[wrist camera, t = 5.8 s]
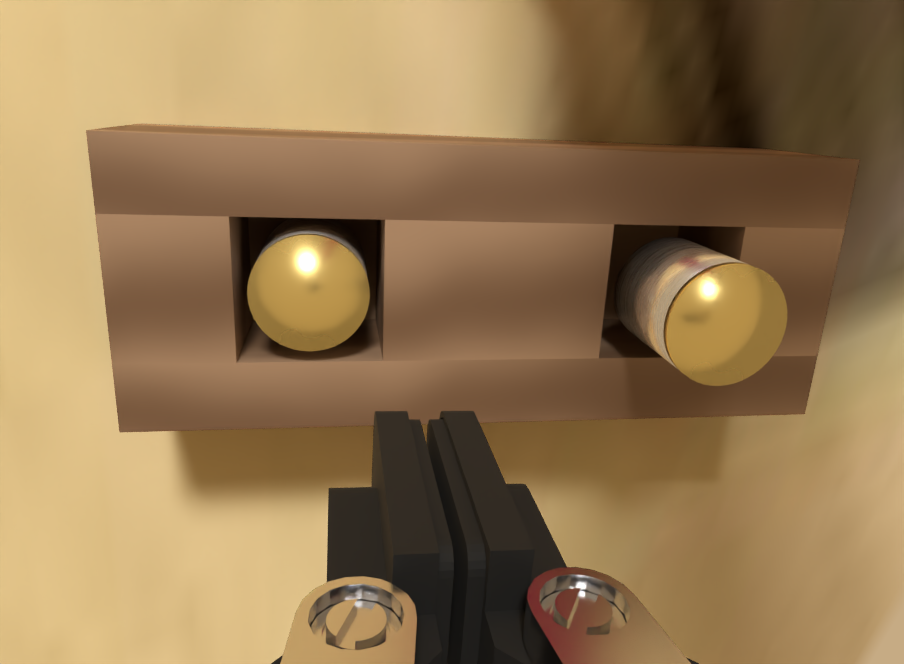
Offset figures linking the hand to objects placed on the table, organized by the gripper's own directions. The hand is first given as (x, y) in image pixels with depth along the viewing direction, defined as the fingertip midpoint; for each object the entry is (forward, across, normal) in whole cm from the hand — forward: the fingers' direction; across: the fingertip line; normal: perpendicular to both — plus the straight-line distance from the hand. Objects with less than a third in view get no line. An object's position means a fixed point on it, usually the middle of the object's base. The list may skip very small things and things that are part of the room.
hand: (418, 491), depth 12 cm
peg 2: (+13, -11, 0) cm, 17 cm away
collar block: (+19, -4, 0) cm, 19 cm away
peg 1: (+17, +2, 0) cm, 17 cm away
